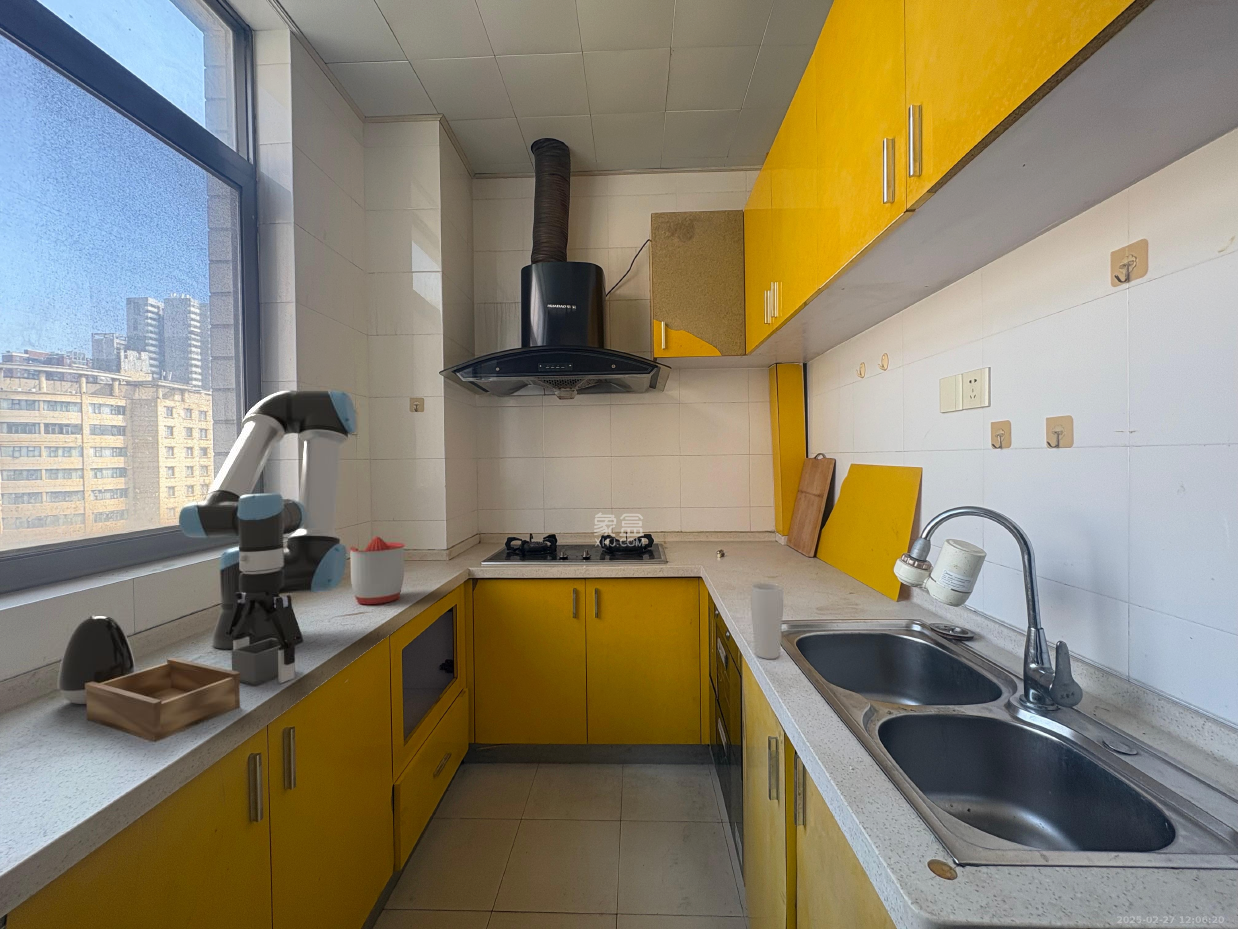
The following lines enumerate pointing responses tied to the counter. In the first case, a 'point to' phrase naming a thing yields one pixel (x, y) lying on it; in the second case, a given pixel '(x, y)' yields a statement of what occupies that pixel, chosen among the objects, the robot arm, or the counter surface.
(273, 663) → the box
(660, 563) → the counter surface
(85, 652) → the pump dispenser
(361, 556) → the citrus juicer
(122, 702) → the large crate
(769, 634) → the drinking glass
